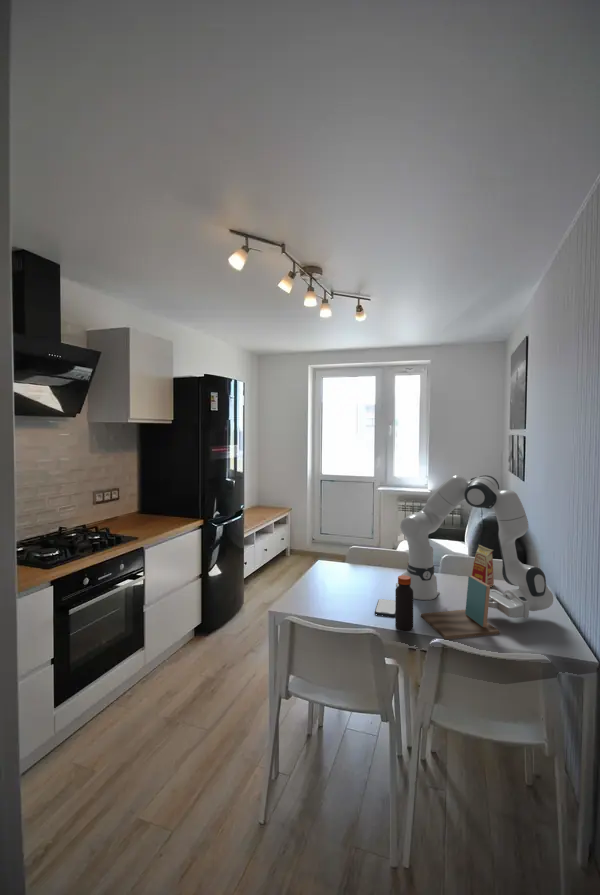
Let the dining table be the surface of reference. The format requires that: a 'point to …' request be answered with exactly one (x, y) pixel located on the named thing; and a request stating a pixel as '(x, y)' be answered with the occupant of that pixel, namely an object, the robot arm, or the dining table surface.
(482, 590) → the tile
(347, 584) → the dining table surface
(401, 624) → the bottle
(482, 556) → the milk carton
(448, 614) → the walnut board
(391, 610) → the phone case
